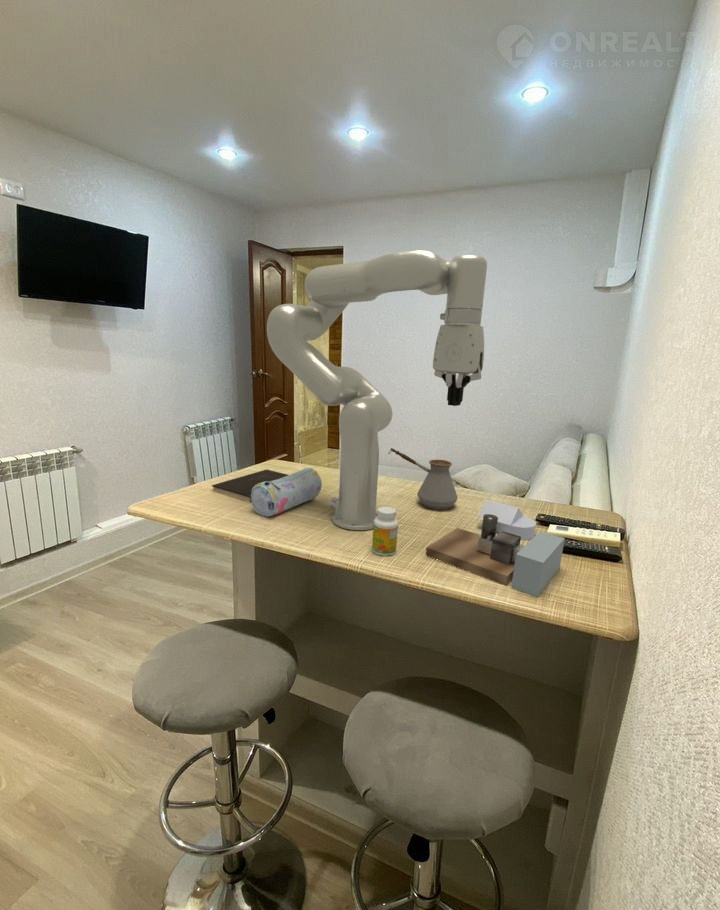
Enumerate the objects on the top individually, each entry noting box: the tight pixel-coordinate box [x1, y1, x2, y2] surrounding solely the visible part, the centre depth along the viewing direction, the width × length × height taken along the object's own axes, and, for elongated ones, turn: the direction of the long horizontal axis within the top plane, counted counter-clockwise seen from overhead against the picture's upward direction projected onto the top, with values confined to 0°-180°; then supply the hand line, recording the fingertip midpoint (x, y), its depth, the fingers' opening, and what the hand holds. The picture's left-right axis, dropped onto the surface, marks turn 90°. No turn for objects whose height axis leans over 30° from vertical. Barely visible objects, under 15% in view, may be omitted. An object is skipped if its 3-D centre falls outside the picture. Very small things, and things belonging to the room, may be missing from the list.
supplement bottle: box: [371, 506, 399, 557], centre depth 97 cm, size 5×5×10 cm
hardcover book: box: [211, 468, 289, 504], centre depth 137 cm, size 16×23×2 cm
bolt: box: [477, 514, 525, 563], centre depth 93 cm, size 12×3×8 cm, turn 52°
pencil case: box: [251, 467, 323, 517], centre depth 121 cm, size 21×9×10 cm, turn 146°
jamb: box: [510, 531, 566, 598], centre depth 90 cm, size 5×15×7 cm, turn 142°
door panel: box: [425, 527, 522, 586], centre depth 97 cm, size 18×15×6 cm
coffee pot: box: [387, 447, 458, 511], centre depth 130 cm, size 21×12×15 cm, turn 67°
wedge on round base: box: [477, 498, 537, 541], centre depth 113 cm, size 9×7×13 cm
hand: (454, 404), depth 99 cm, fingers closed
